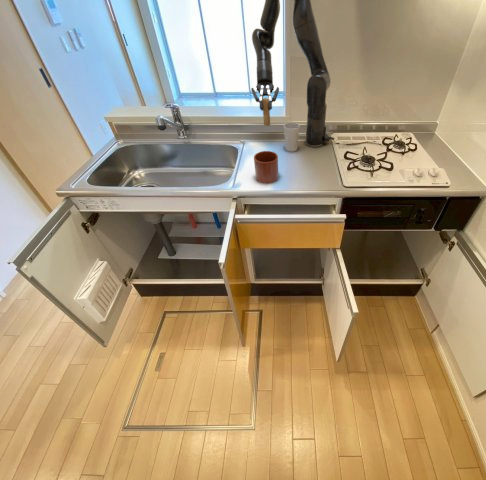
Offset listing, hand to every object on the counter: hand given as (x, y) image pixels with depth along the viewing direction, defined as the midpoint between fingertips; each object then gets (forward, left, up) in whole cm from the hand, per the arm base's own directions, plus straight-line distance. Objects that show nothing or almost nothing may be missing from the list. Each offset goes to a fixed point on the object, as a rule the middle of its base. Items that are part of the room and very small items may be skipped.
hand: (266, 109), depth 127 cm
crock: (+6, +29, -18) cm, 35 cm away
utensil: (0, -2, -8) cm, 8 cm away
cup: (-11, +6, -19) cm, 23 cm away
